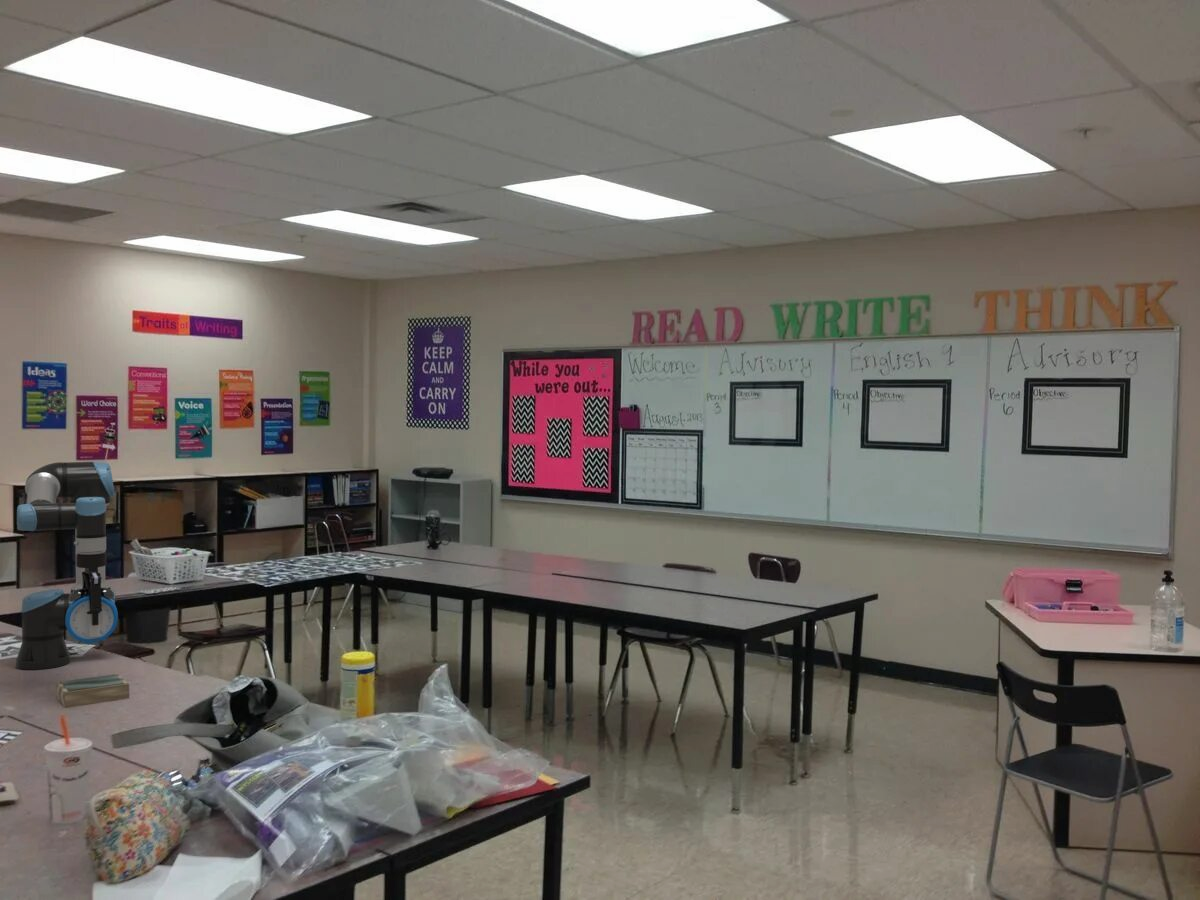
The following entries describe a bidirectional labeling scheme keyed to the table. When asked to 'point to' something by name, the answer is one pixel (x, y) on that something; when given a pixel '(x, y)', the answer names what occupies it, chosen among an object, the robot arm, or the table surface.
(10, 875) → the table surface
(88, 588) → the robot arm
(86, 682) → the base
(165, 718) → the table surface
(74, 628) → the alarm clock
